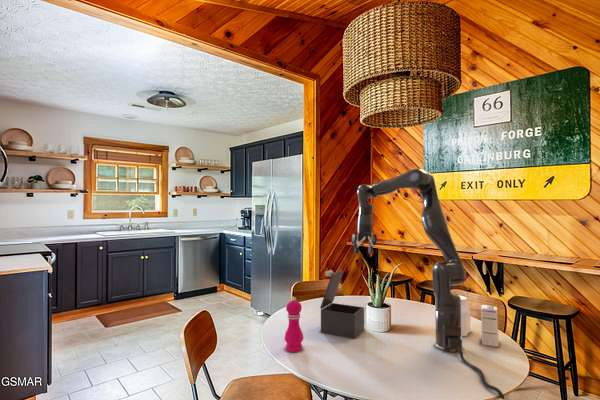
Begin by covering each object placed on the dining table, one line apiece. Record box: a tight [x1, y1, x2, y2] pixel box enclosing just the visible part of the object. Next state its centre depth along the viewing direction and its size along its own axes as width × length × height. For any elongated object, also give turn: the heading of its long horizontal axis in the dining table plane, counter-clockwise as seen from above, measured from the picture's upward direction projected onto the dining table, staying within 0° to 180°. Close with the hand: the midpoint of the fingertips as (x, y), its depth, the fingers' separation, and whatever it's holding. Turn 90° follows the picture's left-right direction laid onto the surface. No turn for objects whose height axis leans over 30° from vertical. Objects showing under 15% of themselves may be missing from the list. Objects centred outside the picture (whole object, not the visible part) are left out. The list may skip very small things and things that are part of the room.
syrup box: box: [480, 304, 499, 348], centre depth 139 cm, size 6×6×14 cm
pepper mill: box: [284, 296, 304, 353], centre depth 134 cm, size 7×7×20 cm
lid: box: [319, 269, 345, 310], centre depth 157 cm, size 16×13×5 cm
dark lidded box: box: [320, 302, 365, 339], centre depth 154 cm, size 16×13×10 cm
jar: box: [457, 294, 472, 337], centre depth 152 cm, size 12×10×15 cm
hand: (363, 253), depth 181 cm, fingers open, 8 cm apart
